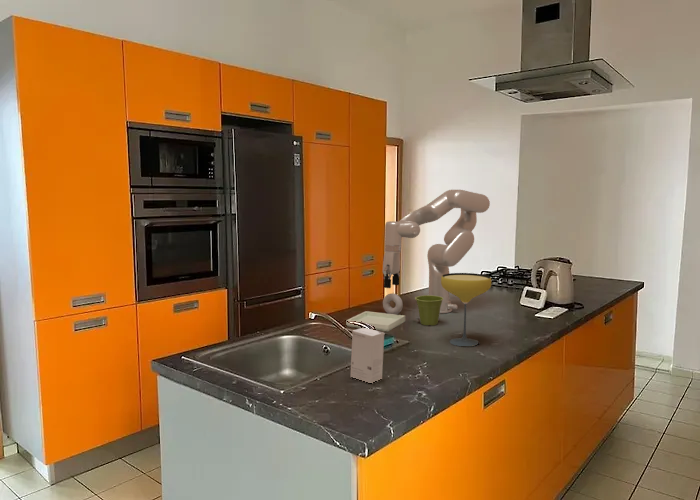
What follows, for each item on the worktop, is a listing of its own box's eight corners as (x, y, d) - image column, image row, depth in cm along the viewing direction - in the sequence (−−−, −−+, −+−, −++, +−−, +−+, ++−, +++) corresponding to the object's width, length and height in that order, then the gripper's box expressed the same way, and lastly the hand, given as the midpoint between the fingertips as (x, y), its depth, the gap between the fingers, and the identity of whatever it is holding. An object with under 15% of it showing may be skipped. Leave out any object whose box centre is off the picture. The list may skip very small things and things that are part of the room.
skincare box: (350, 378, 158) (350, 330, 157) (362, 373, 163) (362, 326, 161) (372, 385, 153) (372, 335, 151) (384, 379, 158) (384, 331, 156)
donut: (404, 315, 239) (404, 293, 238) (400, 317, 236) (400, 295, 235) (384, 312, 244) (385, 291, 243) (381, 314, 241) (381, 292, 240)
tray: (405, 321, 228) (405, 315, 228) (388, 331, 211) (388, 325, 211) (365, 316, 237) (365, 311, 237) (346, 326, 220) (346, 320, 220)
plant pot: (419, 319, 232) (420, 294, 231) (446, 322, 227) (446, 296, 225) (410, 325, 221) (411, 299, 220) (438, 328, 216) (438, 301, 215)
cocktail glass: (481, 352, 184) (483, 282, 181) (432, 345, 192) (434, 278, 190) (494, 340, 199) (496, 275, 196) (448, 333, 208) (450, 271, 205)
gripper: (392, 246, 246) (391, 283, 248) (377, 249, 231) (376, 288, 232) (407, 248, 243) (406, 284, 244) (393, 251, 227) (391, 290, 229)
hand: (391, 286), depth 238 cm, fingers open, 9 cm apart
